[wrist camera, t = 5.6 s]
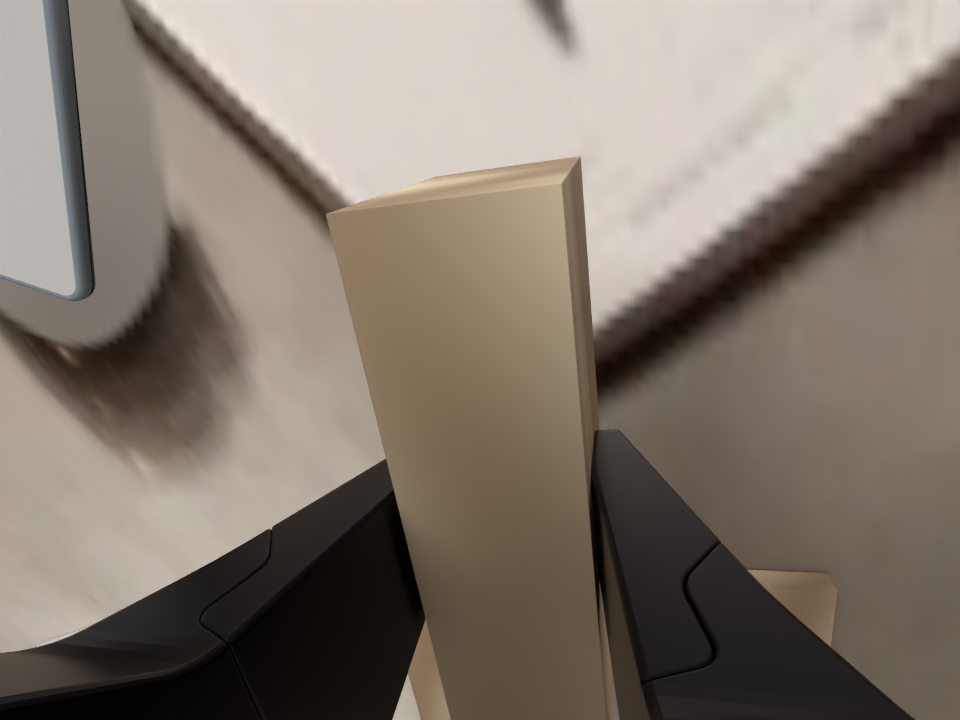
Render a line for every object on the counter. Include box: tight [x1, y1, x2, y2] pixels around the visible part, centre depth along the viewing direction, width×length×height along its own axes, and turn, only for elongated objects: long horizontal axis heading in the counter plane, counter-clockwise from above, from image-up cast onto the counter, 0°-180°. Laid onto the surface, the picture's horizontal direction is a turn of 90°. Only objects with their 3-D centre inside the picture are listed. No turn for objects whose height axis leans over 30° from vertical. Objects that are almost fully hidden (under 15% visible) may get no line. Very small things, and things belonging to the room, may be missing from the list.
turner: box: [326, 156, 619, 720], centre depth 10 cm, size 5×14×4 cm, turn 8°
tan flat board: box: [408, 570, 838, 720], centre depth 22 cm, size 16×14×1 cm
